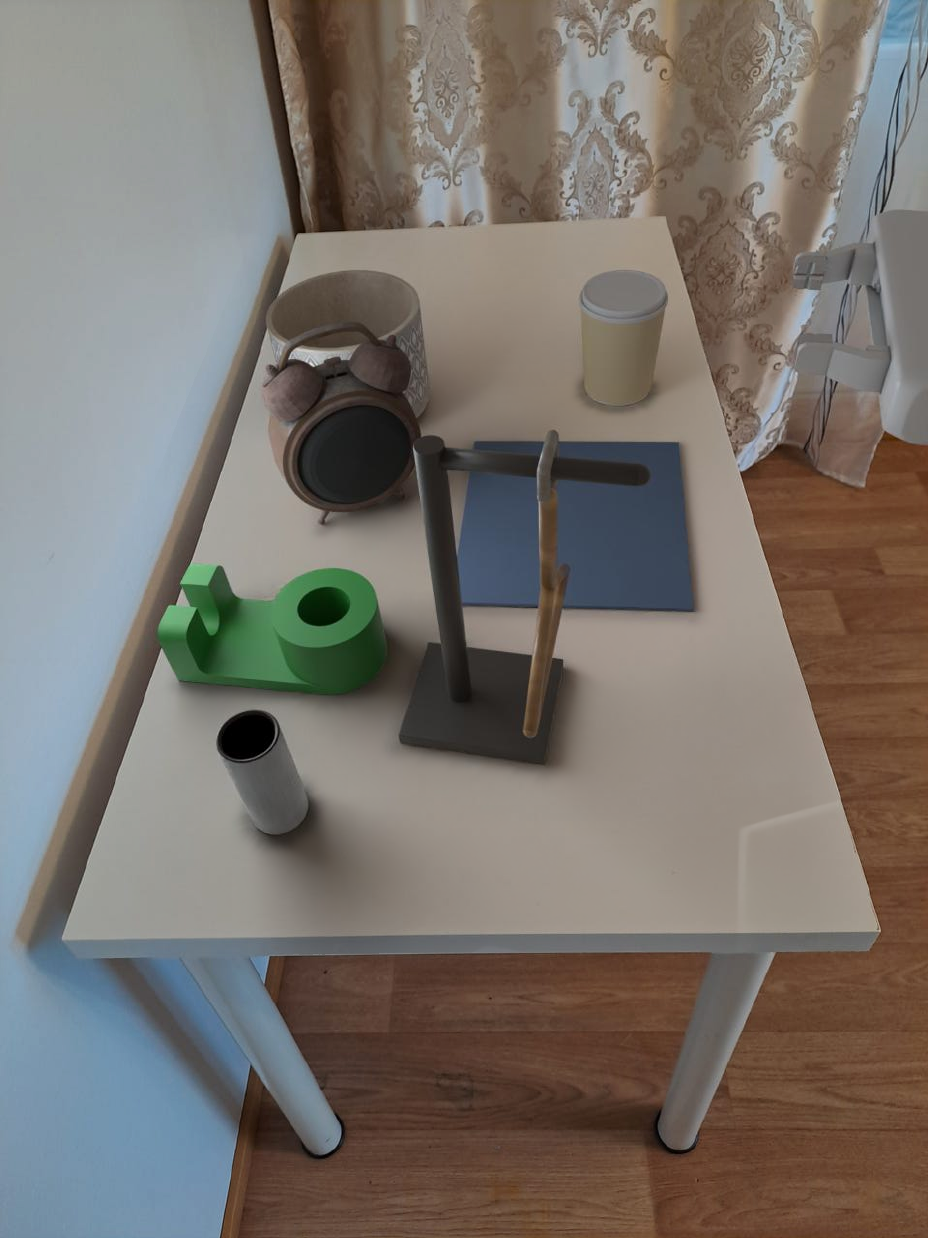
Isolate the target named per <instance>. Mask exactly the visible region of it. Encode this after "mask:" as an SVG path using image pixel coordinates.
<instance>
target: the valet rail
mask: <svg viewBox="0 0 928 1238" xmlns="http://www.w3.org/2000/svg"><path fill="white" fill-rule="evenodd" d="M413 451H414V458H415V465H416V466H415V472H416V478H417V479H416V480H417V486H418V492H419V501H420V506H421V507H420V509H421V514H422V522H423V528H424V535H425V542H426V549H427V557H428V563H429V572H430V578H431V585H432V586H431V587H432V593H433V599H434V606H435V613H436V614H435V615H436V620H437V627H438V634H439V642H431V641H428V642H427V644H426V648H425V650H424V654H423V657H422V660H421V663H420V666H419V670H418V672H417V675H416V679H415V682H414V685H413V687H412V691H411V694H410V697H409V700H408V704H407V707H406V710H405V713H404V716H403V720H402V722H401V726H400V729H399V732H398V739H399V743H400V744H405V745H410V746H411V745H412V746H419V747H425V748H432V749H439V750H445V751H450V752H457V753H464V754H471V755H478V756H483V757H485V756H486V757H492V758H497V759H505V760H511V761H517V762H525V763H530V764H531V763H532V764H538V765H545V764H546V761H547V755H548V751H549V745H550V740H551V735H552V729H553V725H554V719H555V713H556V708H557V703H558V698H559V694H560V693H559V692H560V687H561V683H562V678H563V671H564V661H565V660H564V658H557V657H552V662H551V667H550V672H549V677H548V682H547V687H546V692H545V697H544V702H543V707H542V712H541V717H540V722H539V726H538V731H537V734H536V736H534V737H532V738H528V737H526V736H525V735H524V733H523V727H524V719H525V711H526V703H527V695H528V687H529V679H530V670H531V662H532V654H526V653H518V652H510V651H503V650H495V649H486V648H479V647H471V646H468V645H467V644H468V643H467V637H466V627H465V618H464V617H465V616H464V609H463V605H462V598H461V589H460V580H459V570H458V561H457V553H458V551H457V544H456V535H455V534H456V533H455V525H454V517H453V508H452V507H453V506H452V498H451V488H450V479H449V471H455V472H463V473H464V472H465V473H470V472H475V473H486V474H497V475H509V476H520V477H532V478H537V468H538V464H539V460H540V457H541V455H533V454H521V453H509V452H497V451H484V450H473V448H472V449H471V448H458V447H447V446H446V443H445V440H444V439H443V438H442V437H440V436H438V435H433V434H427V435H423V436H421V437H420V438H418V439H417V440H416V441H415V442H414V444H413ZM550 479H554V480H566V481H577V482H589V483H600V484H611V485H623V486H634V487H641V486H644V485H645V484H647V483H648V481H649V479H650V470H649V468H648V467H647V466H646V465H644V464H640V463H629V462H617V461H605V460H593V459H581V458H569V457H557V456H554V459H553V463H552V467H551V471H550Z"/></svg>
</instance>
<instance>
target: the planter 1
mask: <svg viewBox="0 0 928 1238" xmlns="http://www.w3.org/2000/svg"><path fill="white" fill-rule="evenodd" d="M282 730H283V729H282V728H281V726H280V723H279V721H278V720H277V718H276V717H275V716H274V715H273V714H271V712H268V711H265V710H262V709H247V710H243V711H239V712H237V713H235V714H233V715H231V716H230V717H229V718H228V719H226V720H225V721H224V722H223V723H222V725H221V726H220V728H219V729H218V731H217V733H216V737H215V747H216V750H217V753H218V755H219V757H220V759H221V762H222V763H223V765H224V767H225V769H226V771H227V773H228V775H229V777H230V779H231V781H232V783H233V786H234V787H235V789H236V791H237V793H238V795H239V798H240V799H241V801H242V803H243V805H244V807H245V810H246V811H247V814H248V815H249V817H250V819H251V821H252V822H253V825H254V826H255V827H256V828H257V829H258V830H260V831H261V832H263V833H264V834H268V835H283V834H286V833H289V832H291V831H292V830H294V829H296V828H297V827H298V826H299V825H300V824H302V822H303V821H304V819H305V818H306V815H307V814H308V810H309V799H308V795H307V793H306V790H305V787H304V784H303V782H302V779H301V777H300V774H299V772H298V769H297V767H296V766H297V765H296V764H295V761H294V759H293V756H292V754H291V750H290V748H289V746H288V743H287V741H286V737H285V736H284V732H283V731H282Z"/></svg>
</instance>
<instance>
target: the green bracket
mask: <svg viewBox="0 0 928 1238" xmlns="http://www.w3.org/2000/svg"><path fill="white" fill-rule="evenodd" d="M227 576H228V575H227V573H226V571H225V568H224V567H223V566H222V565H219V564H205V563H190V564H189V565H188V567H187V569H186V571H185V573H184V575H183V577H182V578H181V581H180V583H179V584H180V586H181V589H182V591H183V593H184V595H185V598H186V601H187V602H188V605H189V606H185V605H174V604H173V605H172V604H169V605H167V608H166V610H165V612H164V614H163V616H162V618H161V620H160V622H159V624H158V627H157V641H158V643H159V645H160V647H161V650H162V652H163V654H164V656H165V657H166V659H167V661H168V663H169V665H170V668H171V669H172V671H173V673H174V676H175V677H176V679H177V681H181V682H191V683H200V684H201V683H202V684H209V685H210V684H212V685H222V686H229V687H230V686H231V687H242V688H251V689H263V690H272V691H283V692H295V693H301V694H302V693H304V694H313V695H314V694H315V695H323V696H334V695H335V696H336V695H342V694H346V693H350V692H353V691H356V690H358V689H360V688H362V687H363V686H364V687H365V685H366V684H369V683H370V682H371V681H372V680H374V678H375V677H376V676H378V674H379V673H380V672H381V670H382V669H383V667H384V665H385V662H386V660H387V656H388V644H387V639H386V634H385V629H384V625H383V620H382V615H381V609H380V607H379V602H378V596H377V592H376V589H375V588H374V586H373V584H372V583H371V582H370V581H369V579H367V578H366V577H365V576H363V575H362V574H360V573H359V572H356V571H353V570H350V569H346V568H340V567H326V568H319V569H314V570H311V571H308V572H305V573H303V574H301V575H298V576H296V577H294V578H293V579H292V580H291V581H289V582H288V583H286V584H285V585H284V586H283V587H282V588H281V589H280V591H278V593H277V594H276V596H275V597H274V599H273V600H259V599H257V600H256V599H246V598H241V597H239V596H238V595H236V594H235V593H234V591H233V589H232V586H231V584H230V581H229V578H228V577H227Z"/></svg>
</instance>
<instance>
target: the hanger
mask: <svg viewBox="0 0 928 1238" xmlns="http://www.w3.org/2000/svg"><path fill="white" fill-rule="evenodd" d="M543 441H544V445H543V449H542V453H541V457H540V460H539V464H538V468H537V499H538V501H539V561H540V588H541V590H540V598H539V606H538V607H537V615H536V624H535V630H534V631H535V632H534V638H533V648H532V654H531V655H532V662H531V670H530V679H529V687H528V695H527V703H526V711H525V719H524V727H523V733H524V735H525V736H526V737H528V738H532V737H534V736H536V734H537V731H538V726H539V722H540V717H541V712H542V707H543V702H544V697H545V692H546V687H547V682H548V677H549V672H550V667H551V662H552V658H554V657H553V656H554V652H555V647H556V642H557V638H558V637H557V636H558V632H559V627H560V622H561V617H562V612H563V609H564V608H563V603H564V598H565V593H566V588H567V583H568V578H569V572H570V566H569V565H568V564H567V563H561V564H560V565H559V566H558V567H557V524H558V495H557V493H556V490H557V485H558V481H559V480H554V479H550V471H551V467H552V463H553V459H554V456H557V457H559V441H560V434H559V432H558V431H557V430H556V429H549V430H548V431H547V432H546V434H545V437H544V440H543Z"/></svg>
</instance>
